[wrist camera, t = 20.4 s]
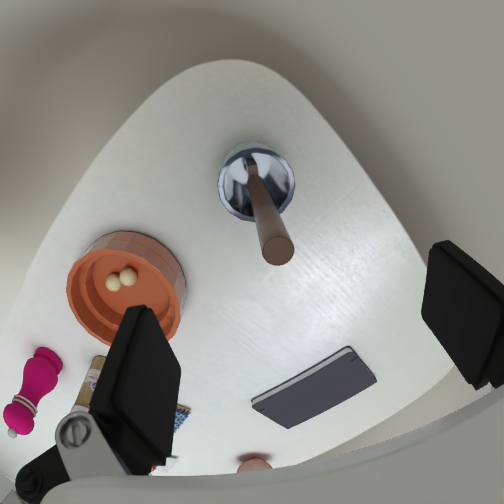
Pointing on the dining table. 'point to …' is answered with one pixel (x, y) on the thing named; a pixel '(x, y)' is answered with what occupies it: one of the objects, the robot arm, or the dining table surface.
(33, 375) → the pepper mill
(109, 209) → the dining table surface
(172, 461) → the dessert
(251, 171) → the brown long handled piece
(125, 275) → the dough ball
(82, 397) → the sprinkles bottle
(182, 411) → the woven mat
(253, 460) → the decorative fruit
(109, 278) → the dough ball
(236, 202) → the crock
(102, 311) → the bowl
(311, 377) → the notebook
